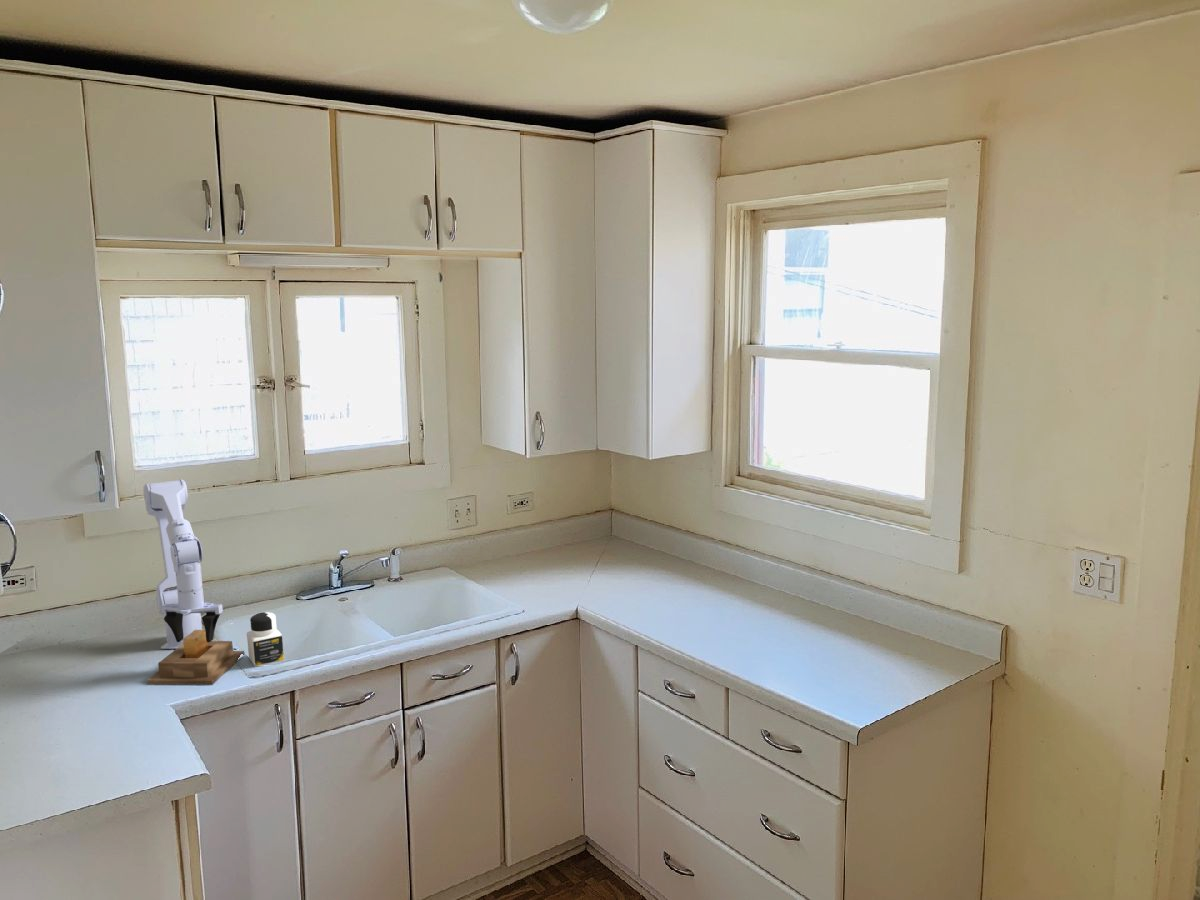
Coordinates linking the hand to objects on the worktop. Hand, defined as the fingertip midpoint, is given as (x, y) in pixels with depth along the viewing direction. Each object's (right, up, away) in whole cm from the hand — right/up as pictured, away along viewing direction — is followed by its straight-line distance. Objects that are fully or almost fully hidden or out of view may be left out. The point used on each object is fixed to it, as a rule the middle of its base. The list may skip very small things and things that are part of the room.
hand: (195, 640), depth 226 cm
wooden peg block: (0, -6, +1) cm, 6 cm away
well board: (0, -7, +1) cm, 7 cm away
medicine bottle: (+15, -6, +7) cm, 18 cm away
